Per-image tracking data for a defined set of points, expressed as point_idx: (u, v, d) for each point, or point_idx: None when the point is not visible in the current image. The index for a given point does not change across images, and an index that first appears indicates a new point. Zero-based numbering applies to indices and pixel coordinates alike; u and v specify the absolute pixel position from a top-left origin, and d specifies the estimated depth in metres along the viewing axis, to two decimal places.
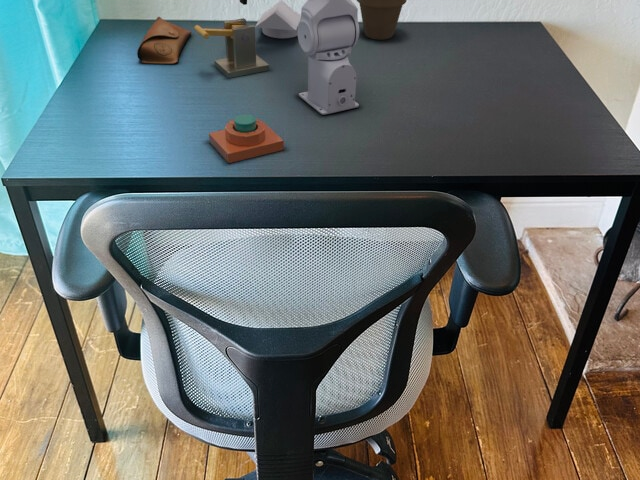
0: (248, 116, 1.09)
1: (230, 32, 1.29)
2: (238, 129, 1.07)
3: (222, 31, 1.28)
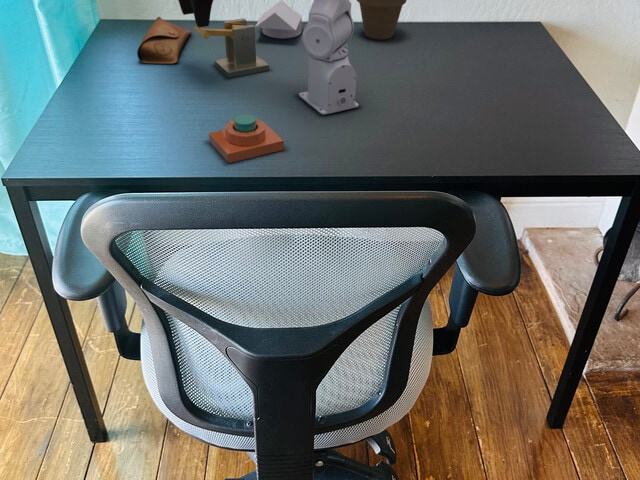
0: (248, 116, 1.09)
1: (230, 32, 1.29)
2: (238, 129, 1.07)
3: (222, 31, 1.28)
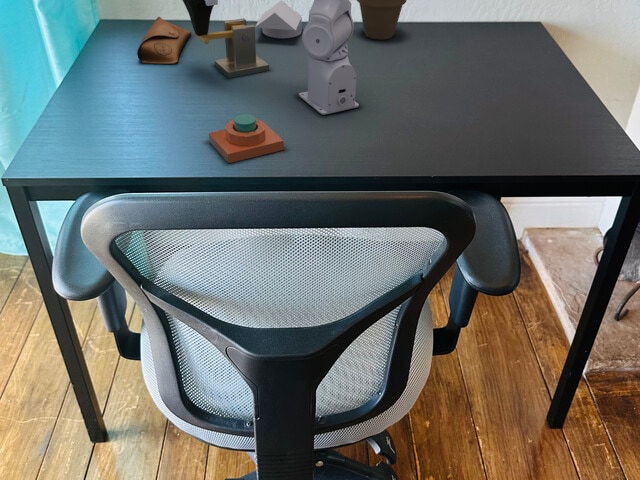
0: (248, 116, 1.09)
1: (230, 33, 1.29)
2: (238, 129, 1.07)
3: (222, 34, 1.28)
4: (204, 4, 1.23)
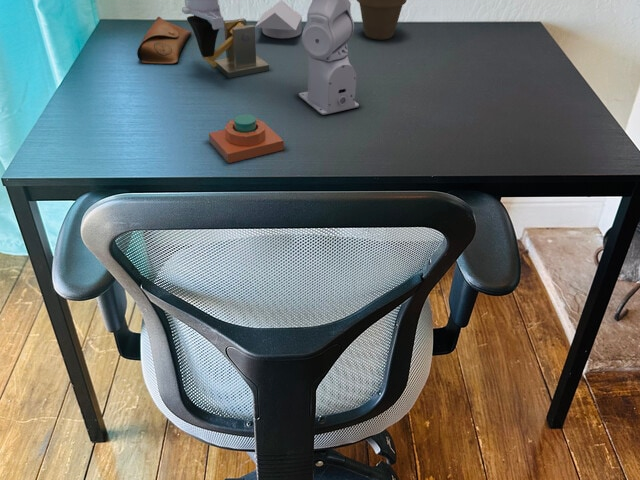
0: (248, 116, 1.09)
1: (231, 40, 1.30)
2: (238, 129, 1.07)
3: (224, 45, 1.30)
4: (210, 27, 1.26)
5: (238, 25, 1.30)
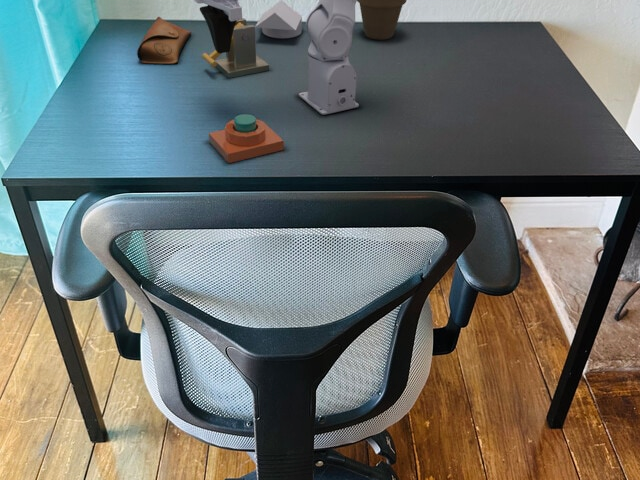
0: (248, 116, 1.09)
1: (231, 40, 1.30)
2: (238, 129, 1.07)
3: None
4: (226, 18, 1.10)
5: (238, 25, 1.30)
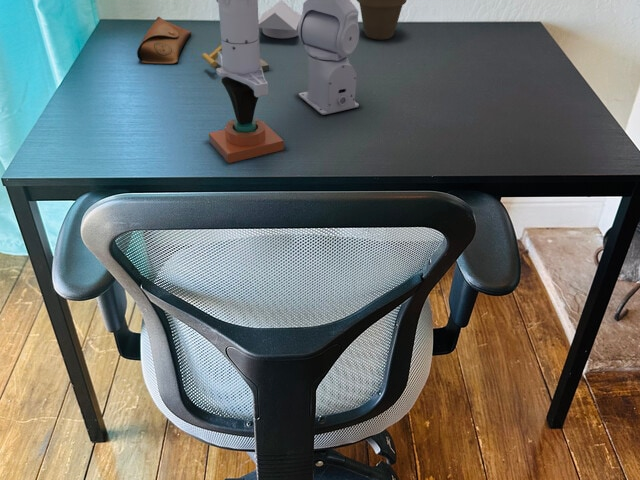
0: None
1: None
2: None
3: None
4: (250, 90, 1.04)
5: None
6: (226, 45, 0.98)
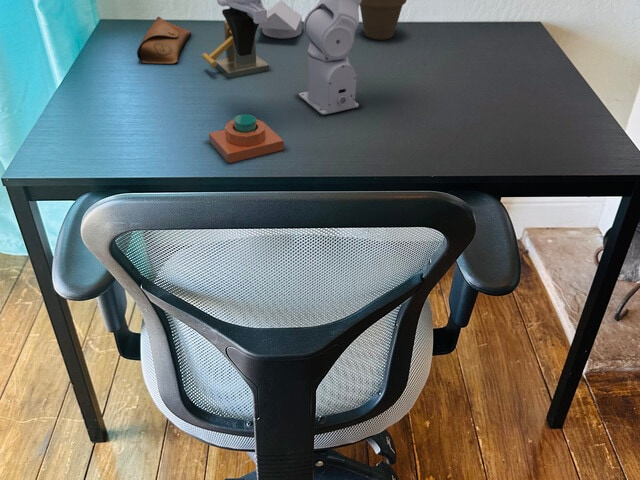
0: (248, 116, 1.09)
1: (231, 40, 1.30)
2: (238, 129, 1.07)
3: (224, 45, 1.30)
4: (249, 21, 1.10)
5: None
6: None
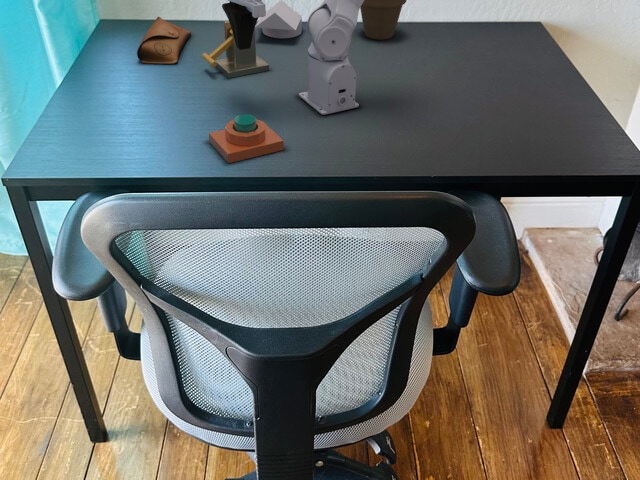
0: (248, 116, 1.09)
1: (231, 40, 1.30)
2: (238, 129, 1.07)
3: (224, 45, 1.30)
4: (248, 15, 1.12)
5: None
6: None
